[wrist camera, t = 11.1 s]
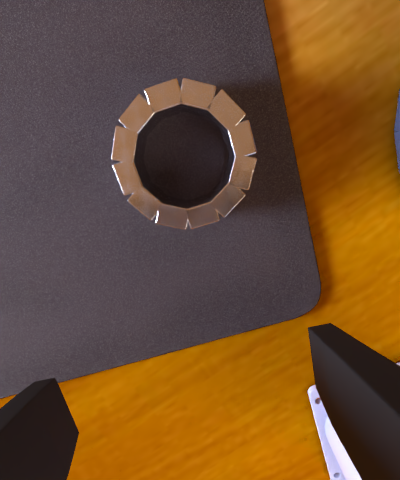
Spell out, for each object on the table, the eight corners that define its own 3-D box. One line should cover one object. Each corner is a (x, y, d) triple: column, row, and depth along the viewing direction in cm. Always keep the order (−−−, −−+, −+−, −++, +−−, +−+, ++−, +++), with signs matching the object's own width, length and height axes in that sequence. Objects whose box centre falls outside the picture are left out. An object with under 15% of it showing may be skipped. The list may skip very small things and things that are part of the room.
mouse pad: (236, -128, 12) (237, -133, 12) (325, 308, 18) (326, 310, 18) (-279, 65, 14) (-286, 64, 14) (-45, 409, 20) (-48, 412, 20)
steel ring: (258, 196, 16) (270, 205, 14) (149, 231, 16) (142, 245, 14) (227, 73, 14) (234, 57, 12) (106, 115, 15) (88, 107, 12)
